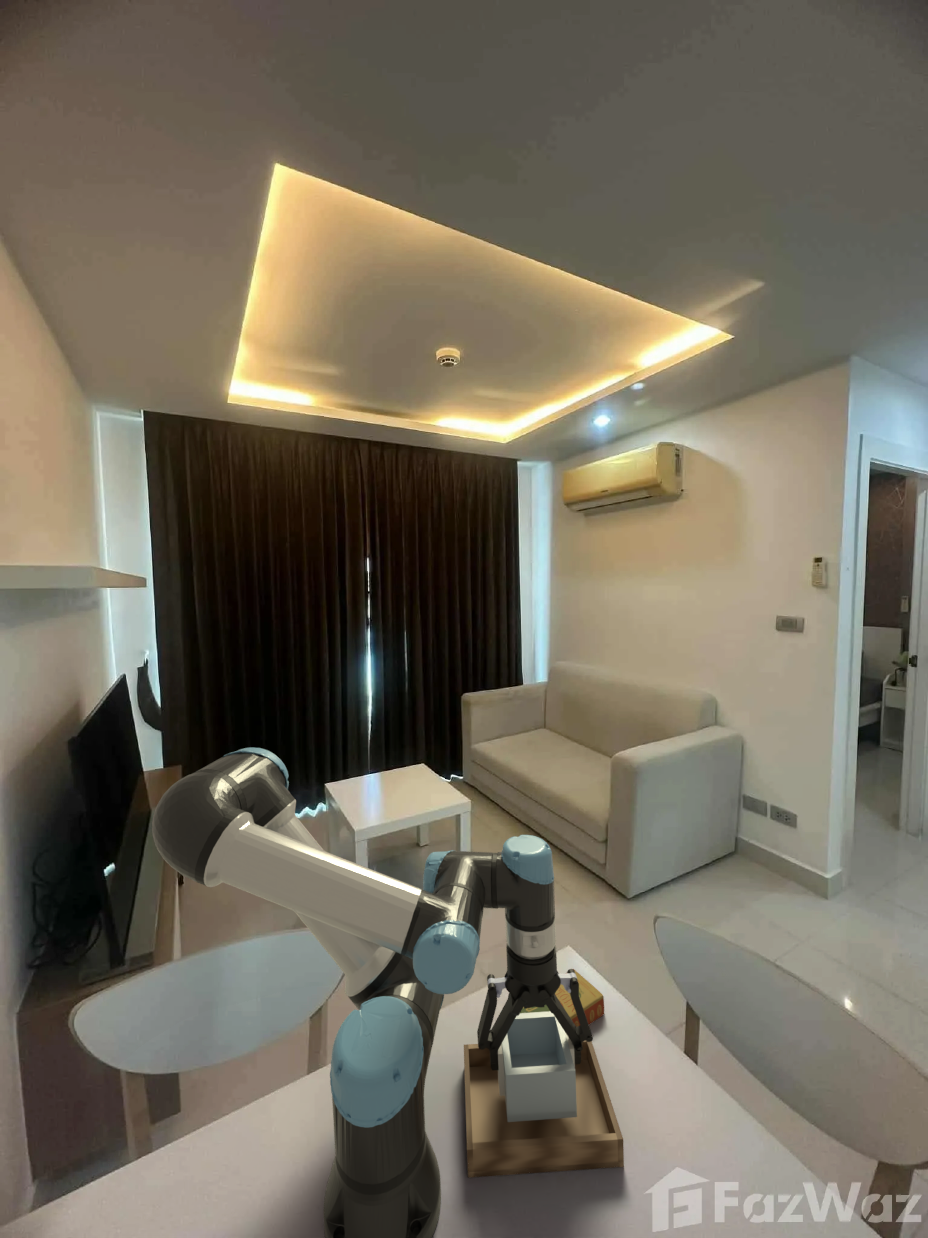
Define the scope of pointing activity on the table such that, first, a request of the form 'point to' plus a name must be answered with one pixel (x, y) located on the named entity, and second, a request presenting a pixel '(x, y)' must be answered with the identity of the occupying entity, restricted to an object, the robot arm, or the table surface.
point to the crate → (538, 1125)
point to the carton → (588, 998)
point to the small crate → (538, 1069)
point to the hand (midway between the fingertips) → (536, 1084)
